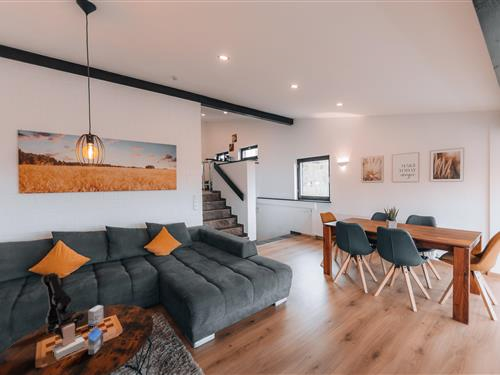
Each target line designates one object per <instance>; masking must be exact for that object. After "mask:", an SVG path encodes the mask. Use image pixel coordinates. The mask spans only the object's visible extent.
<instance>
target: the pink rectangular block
mask: <svg viewBox="0 0 500 375" xmlns="http://www.w3.org/2000/svg"><path fill="white" fill-rule="evenodd" d="M61 328H62V329H61V332H62V334H63V338H64V339H63V340H62V339H61V343H62V347H64V346H66V345H69V344H71V343H73V342H75V337H76V334H75V324H74V322H72V323H69V324H67V325H64V326H62V327H61Z"/></svg>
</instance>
